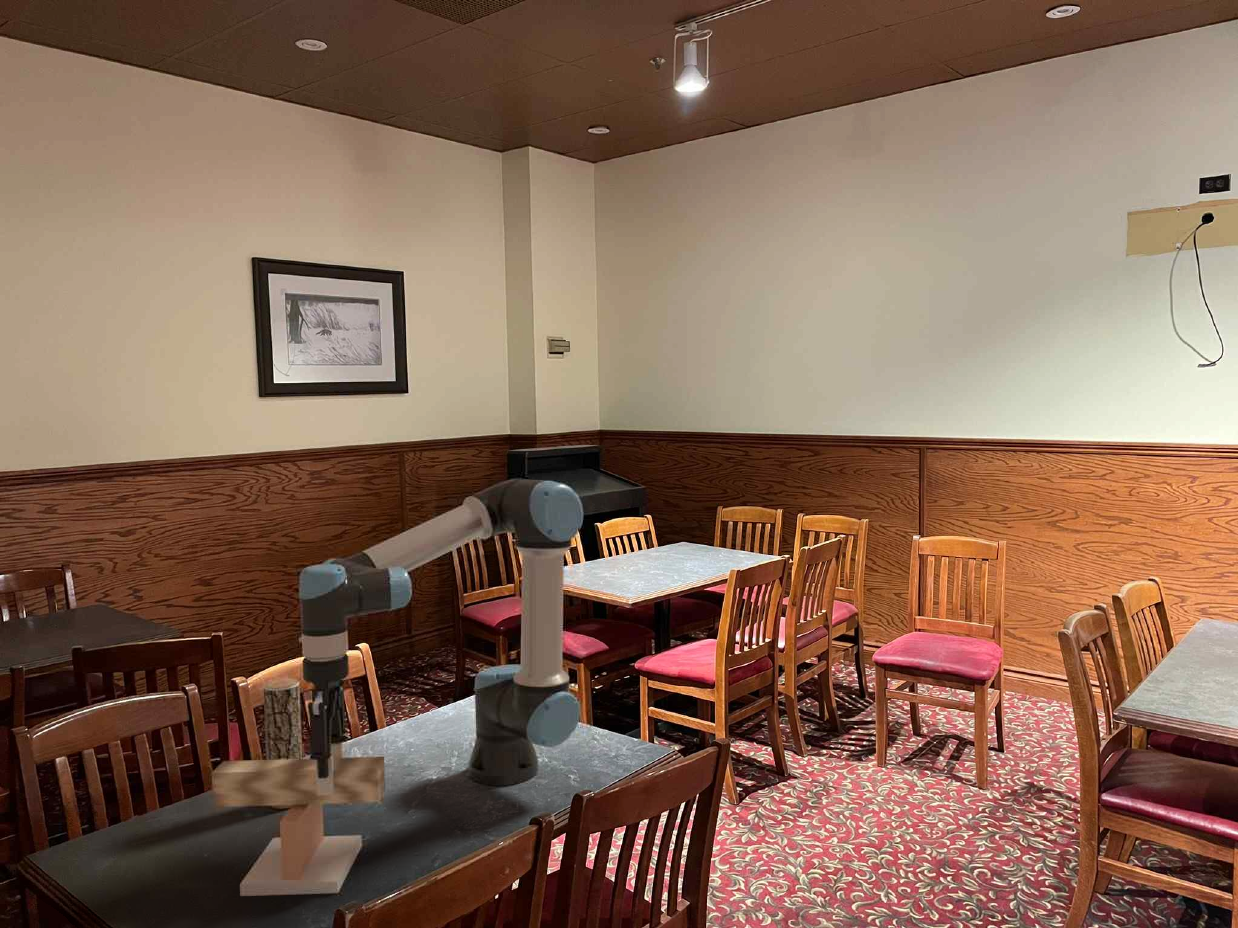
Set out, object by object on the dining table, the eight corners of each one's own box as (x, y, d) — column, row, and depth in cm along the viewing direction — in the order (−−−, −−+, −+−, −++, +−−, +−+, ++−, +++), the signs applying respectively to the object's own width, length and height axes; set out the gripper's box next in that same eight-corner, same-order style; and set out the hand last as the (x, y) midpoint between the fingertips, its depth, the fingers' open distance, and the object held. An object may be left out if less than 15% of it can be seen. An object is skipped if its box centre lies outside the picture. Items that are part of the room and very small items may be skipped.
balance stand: (361, 845, 167) (359, 782, 166) (337, 892, 151) (335, 822, 150) (273, 848, 166) (271, 784, 166) (240, 895, 151) (237, 825, 150)
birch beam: (385, 789, 161) (384, 756, 160) (378, 801, 156) (377, 767, 155) (225, 794, 160) (223, 761, 159) (213, 806, 155) (211, 772, 154)
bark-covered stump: (292, 811, 181) (287, 688, 179) (261, 808, 183) (256, 687, 181) (310, 796, 188) (305, 678, 186) (280, 794, 189) (275, 676, 187)
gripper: (318, 641, 165) (323, 766, 167) (285, 671, 147) (291, 811, 149) (360, 640, 165) (364, 765, 167) (332, 670, 147) (337, 809, 149)
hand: (330, 786), depth 158 cm, fingers closed on birch beam, 5 cm apart
